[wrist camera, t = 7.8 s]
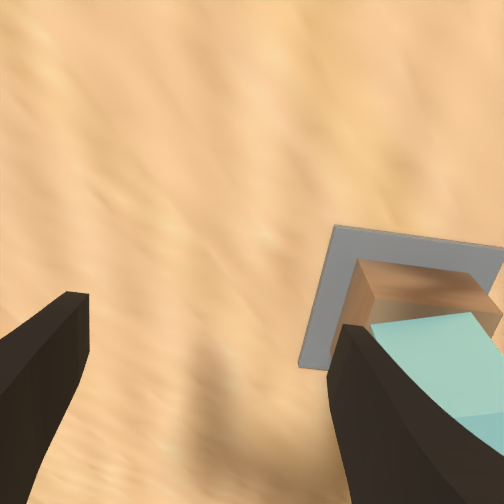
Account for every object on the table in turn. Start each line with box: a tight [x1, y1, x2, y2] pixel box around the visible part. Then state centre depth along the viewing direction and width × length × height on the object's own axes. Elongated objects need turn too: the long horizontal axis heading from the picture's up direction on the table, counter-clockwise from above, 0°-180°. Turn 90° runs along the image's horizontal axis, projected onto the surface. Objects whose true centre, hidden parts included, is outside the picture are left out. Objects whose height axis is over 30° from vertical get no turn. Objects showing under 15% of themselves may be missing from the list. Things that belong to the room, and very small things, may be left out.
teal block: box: [370, 312, 504, 456], centre depth 20 cm, size 4×4×6 cm
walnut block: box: [330, 258, 503, 357], centre depth 24 cm, size 6×6×4 cm
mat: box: [298, 225, 504, 370], centre depth 25 cm, size 9×9×1 cm
